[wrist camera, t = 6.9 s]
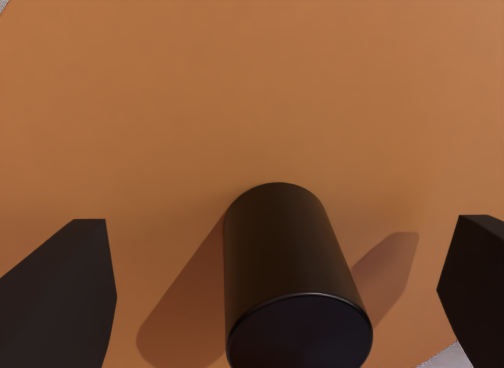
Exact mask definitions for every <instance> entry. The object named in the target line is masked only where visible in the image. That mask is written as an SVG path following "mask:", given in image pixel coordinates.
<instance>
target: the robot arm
mask: <svg viewBox="0 0 504 368" xmlns="http://www.w3.org/2000/svg"><path fill="white" fill-rule="evenodd" d="M436 291H437V294H438V296H439V299H440V301H441V304H442V306H443V309H444V311H445V314H446V316H447V318H448V321H449V323H450V325H451V327H452V330H453V332H454V334H455V336H456V338H457V339H458V341H459V343H460V345H461V346H462V348H463V350H464V352H465V353H466V355H467V357H468V358H469V360H470V362H471V364H472V365H473V367H474V368H504V221H502V220H500V219H497V218H495V217H492V216H490V215H487V214H483V215H459V217H458V220H457V223H456V227H455V230H454V233H453V236H452V240H451V243H450V246H449V249H448V253H447V256H446V259H445V262H444V265H443V269H442V272H441V275H440V278H439V282H438V285H437V288H436ZM116 303H117V291H116V285H115V278H114V272H113V265H112V259H111V252H110V245H109V239H108V232H107V226H106V219H73V220H71V221H70V222H69V223H67V224H66V225H65V226H63V227H62V228H61V229H60V230H58V231H57V232H56V233H55V234H54V235H52V236H51V237H50V238H49V239H47V240H46V241H45V242H44V243H43V244H41V245H40V246H39V247H38V248H37V249H35V250H34V251H33V252H32V253H31V254H29V255H28V256H27V257H26V258H24V259H23V260H22V261H21V262H19V263H18V264H17V265H16V266H14V267H13V268H12V269H11V270H9V271H8V272H7V273H6V274H4V275H3V276H2V277H1V278H0V368H102V365H103V362H104V359H105V356H106V352H107V349H108V346H109V341H110V336H111V331H112V326H113V321H114V315H115V309H116Z"/></svg>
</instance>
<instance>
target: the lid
mask: <svg viewBox="0 0 504 368" xmlns="http://www.w3.org/2000/svg"><path fill="white" fill-rule="evenodd" d="M483 214H487V215H490V216H492V217H495V218H497V219H500V220H502V221H504V0H9V1H8V3H7V5H6V6H5V8H4V9H3V11H2V12H1V14H0V278H1V277H2V276H3V275H4V274H6V273H7V272H8V271H9V270H11V269H12V268H13V267H14V266H16V265H17V264H18V263H19V262H21V261H22V260H23V259H24V258H26V257H27V256H28V255H29V254H31V253H32V252H33V251H34V250H35V249H37V248H38V247H39V246H40V245H41V244H43V243H44V242H45V241H46V240H47V239H49V238H50V237H51V236H52V235H54V234H55V233H56V232H57V231H58V230H60V229H61V228H62V227H63V226H65V225H66V224H67V223H69V222H70V221H71V220H73V219H106V226H107V232H108V239H109V245H110V252H111V259H112V265H113V272H114V278H115V285H116V291H117V303H116V309H115V315H114V321H113V326H112V331H111V336H110V341H109V346H108V349H107V352H106V356H105V359H104V362H103V365H102V368H414V367H416V366H418V365H420V364H422V363H423V362H425V361H427V360H429V359H430V358H432V357H433V356H435V355H436V354H438V353H439V352H441V351H442V350H444V349H445V348H447V347H448V346H450V345H451V344H453V343H454V342H455V341H456V340H458V339H457V338H456V336H455V334H454V332H453V330H452V327H451V325H450V323H449V321H448V318H447V316H446V314H445V311H444V309H443V306H442V304H441V301H440V299H439V296H438V294H437V291H436V288H437V285H438V282H439V278H440V275H441V272H442V269H443V265H444V262H445V259H446V256H447V253H448V249H449V246H450V243H451V240H452V236H453V233H454V230H455V227H456V223H457V220H458V217H459V215H483Z"/></svg>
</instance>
